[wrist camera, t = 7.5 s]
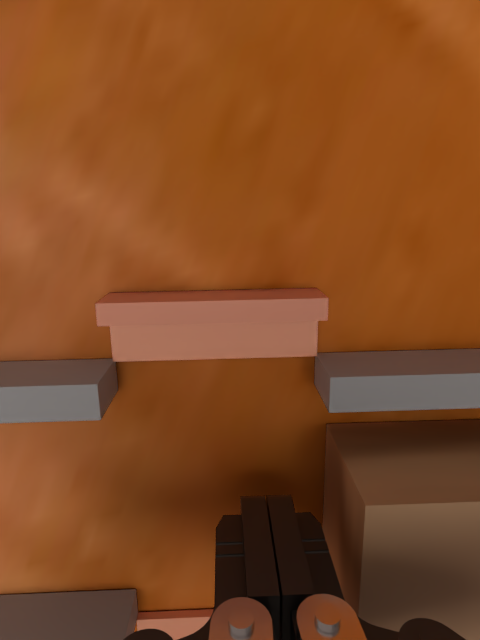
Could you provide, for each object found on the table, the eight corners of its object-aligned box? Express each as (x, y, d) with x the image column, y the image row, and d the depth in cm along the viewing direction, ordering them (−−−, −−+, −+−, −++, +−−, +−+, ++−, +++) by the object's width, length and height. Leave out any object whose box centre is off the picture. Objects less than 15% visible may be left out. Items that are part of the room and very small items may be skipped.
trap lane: (-141, 298, 13) (-206, 314, 11) (534, 283, 13) (587, 296, 11) (-56, 666, 16) (-94, 730, 14) (481, 640, 17) (515, 697, 15)
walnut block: (326, 423, 14) (365, 505, 10) (481, 419, 14) (577, 498, 10) (321, 556, 15) (354, 674, 12) (463, 550, 16) (543, 664, 12)
